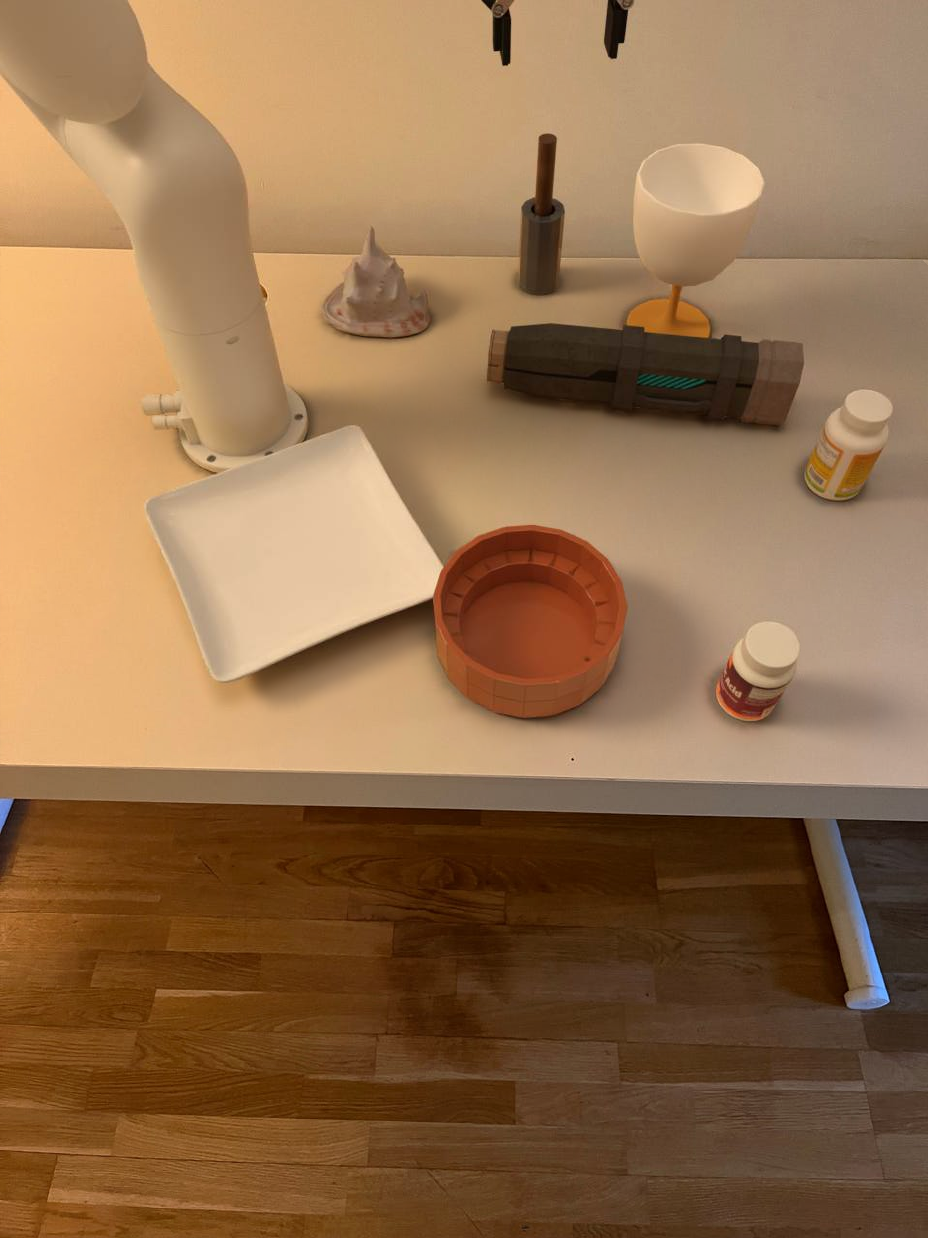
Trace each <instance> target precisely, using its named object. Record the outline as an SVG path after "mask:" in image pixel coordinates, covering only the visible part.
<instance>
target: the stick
mask: <svg viewBox="0 0 928 1238" xmlns="http://www.w3.org/2000/svg"><path fill="white" fill-rule="evenodd" d="M537 140H538V141H537V142H538V143H537V157H536V158H537V159H536V176H535V195H534V197H535V209H534V214H535V215H537V216H541V217H544V216H550V215H551V212H552V199H553V196H554V185H555V173H556V172H555V171H556V170H555V169H556V157H557V144H558V138H557V136H556V135H555V134H553V133H547V132H546V133H542V134H540V135H539V136H538V139H537Z"/></svg>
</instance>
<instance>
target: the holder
mask: <svg viewBox="0 0 928 1238" xmlns="http://www.w3.org/2000/svg"><path fill="white" fill-rule="evenodd" d="M534 209H535V196H534V197H532V198H529V199H527V200H525V201H524V202H523V204H522V205H521V207H520V224H519V225H520V226H519V246H518V247H519V248H518V249H519V250H518V268H517V269H518V271H517V278H518V279H517V280H518V281H517V282H518V283H517V284H518V286H519V288H520V289H521V290H522V291H524V292H525V293H527V294H530V295H533V296H534V295H535V296H543V295H544V296H545V295H549V294H550V293H552V292H554V291H555V290H556V289H557V287H558V285H559V281H560V272H561V262H562V261H561V260H562V249H563V240H564V239H563V238H564V228H565V216H566V209H565V205H564V204H563V202H562V201H560V200H558V199H557V198H553V199H552V212H551V215H550V216H544V217H541V216H537V215H535V214H534Z"/></svg>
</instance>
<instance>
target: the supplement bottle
mask: <svg viewBox="0 0 928 1238" xmlns="http://www.w3.org/2000/svg"><path fill="white" fill-rule="evenodd" d="M893 410H894V408H893V404H892V403H891V401H890V399H888V397H886V396H885V395H884V394H883V393H880V392H878V391H876V390H872V389H866V388H865V389H857V390H856V389H855V390H854V391H851V392H850V393H849V394H847V396H846V397H845V399H844V401H843V403H842V404H841V407H838V408H836V409H835V410H833V411H832V412H831V413H830V414H829V416H828V417H827V419H826V421H825V423H824V425H823V428H822V430H821V433H820V434H819V438H818V440H817V442H816V444H815V446H814V449H813V450H812V453H811V455H810V458H809V459H808V462H807V464H806V467H805V468H804V469H805V470H804V480H805V483H806V485H807V487H808V488H809V490H811V492H813V493H814V494H816V495H817V496H819V497H821V498H823V499H827V500H830V501H846V500H850V499H852V498H854V497H855V496H857V495H858V494H859V493H860V492H861V490H862V488H863V487H864V485H865V483H866V481H867V479H868V478H869V476H870V474H871V472H872V470H873V468H874V466H875V465H876V463H877V461H878V459H879V457H880V455H881V454H882V451H883V450H884V448H885V446H886V444H887V441H888V439H889V435H890V434H889V433H890V432H889V431H890V430H889V426H888V423H889V420H890V419H891V416H892V415H893Z"/></svg>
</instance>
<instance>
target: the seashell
mask: <svg viewBox="0 0 928 1238" xmlns="http://www.w3.org/2000/svg"><path fill="white" fill-rule="evenodd" d="M375 235H376V233H375V229H374V226H372V225H369V226H368V228H367V234H366V237H365V240H364V243H363V246H362V249H361V250H362V251H361V253H360V255H359V256H355V257H353V258H352V259H351V262H350V264H349V266H348V267H346V269H345V270H343V271H342V275H343V281H342V282H341V283H340V284H339V285H337V286H336V287H335V288H334V289H333V290H332V291H331V292H330V293H329V294H328V295H327V297H326V298H325V299H324V301H323V303H322V305H321V314H322V316H323V318H324V319H325V321H326V322H327V323H329V324H330V325H332V326H333V327H335V328H336V329H338V330H339V331H341V332H344V333H347V334H352V335H356V336H360V337H361V336H363V337H376V338H377V337H379V338H389V339H390V338H391V339H392V338H401V337H408V336H412V335H415V334H418V333H421V332H423V331H425V330H427V328H428V327H429V325H430V323H431V315H430V313H429V309H428V308H429V294H428V291H427V290H426V289H425V288H424V289H422V291H421V292H420V295H418V296H417V297H415V298H413V299H411V296H410V292H409V289H408V286H407V282H406V278H405V271H404V268H402V267H401V266H399V264H398V263H397V262H396V261H397V260H396V258H395V257H391V256H390V255H388V254H387V252H385V251H384V250H383V249H382V248H381V246H380V245H379V244H378V242H377V241H376V239H375V237H376V236H375Z"/></svg>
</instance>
